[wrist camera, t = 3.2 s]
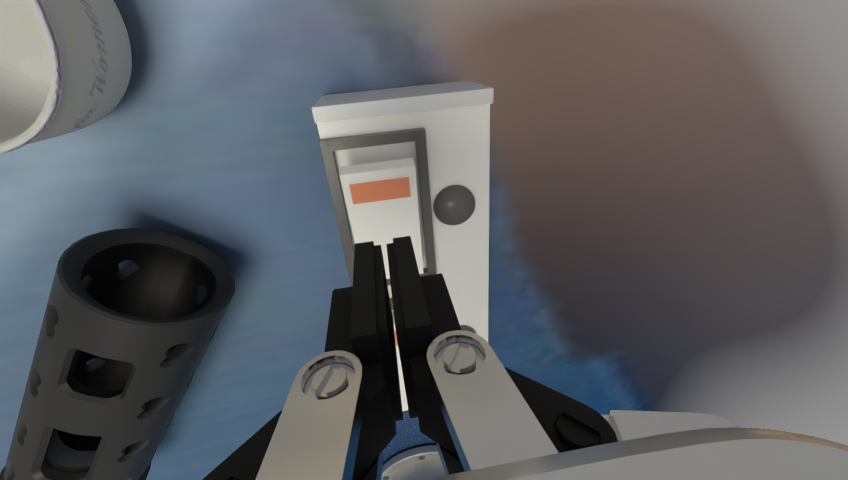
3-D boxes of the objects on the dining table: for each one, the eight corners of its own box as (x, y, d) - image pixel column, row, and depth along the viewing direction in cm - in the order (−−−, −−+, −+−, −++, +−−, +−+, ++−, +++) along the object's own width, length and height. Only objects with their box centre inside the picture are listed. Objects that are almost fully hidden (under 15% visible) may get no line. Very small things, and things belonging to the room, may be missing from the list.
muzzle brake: (258, 256, 29) (210, 350, 20) (159, 453, 38) (95, 579, 29) (125, 202, 25) (-8, 287, 16) (51, 434, 35) (-59, 570, 26)
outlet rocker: (419, 257, 25) (423, 274, 24) (363, 265, 25) (364, 283, 23) (410, 152, 20) (415, 166, 19) (340, 160, 20) (339, 176, 18)
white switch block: (473, 349, 37) (489, 394, 32) (378, 365, 36) (380, 415, 31) (468, 80, 25) (493, 88, 20) (322, 95, 24) (311, 107, 19)
